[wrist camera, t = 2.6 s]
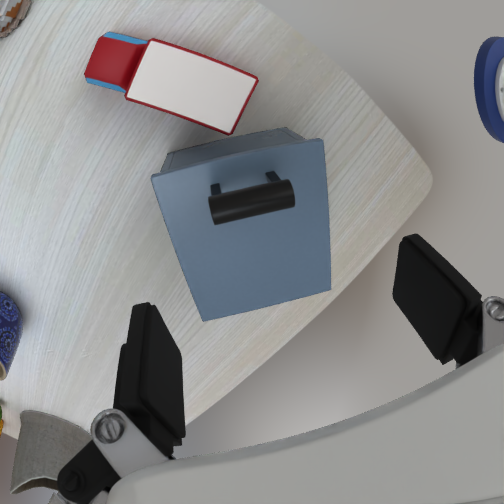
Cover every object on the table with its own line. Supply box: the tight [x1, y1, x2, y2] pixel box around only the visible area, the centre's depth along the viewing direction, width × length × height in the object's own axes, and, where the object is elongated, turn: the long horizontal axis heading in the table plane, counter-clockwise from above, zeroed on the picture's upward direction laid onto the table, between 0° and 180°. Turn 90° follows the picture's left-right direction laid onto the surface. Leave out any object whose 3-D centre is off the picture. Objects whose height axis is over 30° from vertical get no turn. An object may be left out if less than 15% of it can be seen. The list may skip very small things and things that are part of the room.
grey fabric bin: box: [10, 411, 92, 494], centre depth 50 cm, size 23×32×25 cm
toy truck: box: [84, 32, 259, 136], centre depth 22 cm, size 6×15×7 cm, turn 64°
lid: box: [151, 138, 331, 322], centre depth 22 cm, size 14×13×5 cm
